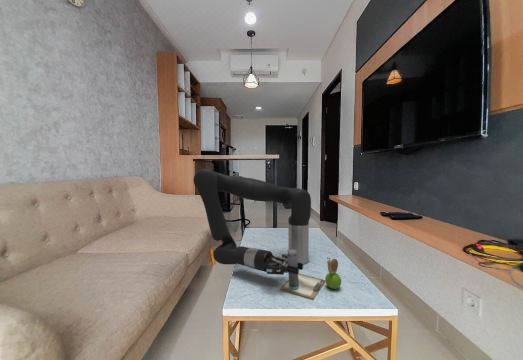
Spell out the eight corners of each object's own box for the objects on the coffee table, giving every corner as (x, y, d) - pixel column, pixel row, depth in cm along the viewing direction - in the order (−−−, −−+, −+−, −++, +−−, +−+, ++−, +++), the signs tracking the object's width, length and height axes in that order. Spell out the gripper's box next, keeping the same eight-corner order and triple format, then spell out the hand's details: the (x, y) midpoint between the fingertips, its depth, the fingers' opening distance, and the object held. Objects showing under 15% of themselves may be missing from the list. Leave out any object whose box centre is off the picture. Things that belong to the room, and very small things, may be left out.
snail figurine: (320, 289, 80) (321, 255, 79) (330, 282, 84) (330, 250, 84) (335, 295, 76) (335, 260, 75) (343, 287, 80) (344, 254, 80)
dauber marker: (291, 284, 82) (289, 248, 82) (300, 286, 80) (298, 249, 80) (287, 288, 79) (285, 251, 79) (296, 290, 77) (294, 253, 77)
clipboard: (295, 273, 91) (295, 270, 91) (325, 281, 85) (325, 278, 85) (279, 290, 79) (279, 286, 79) (313, 300, 73) (313, 296, 73)
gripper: (247, 255, 81) (292, 266, 72) (267, 244, 93) (307, 251, 84) (248, 276, 81) (292, 288, 72) (267, 262, 93) (307, 271, 84)
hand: (300, 268), depth 78 cm, fingers closed on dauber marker, 3 cm apart
